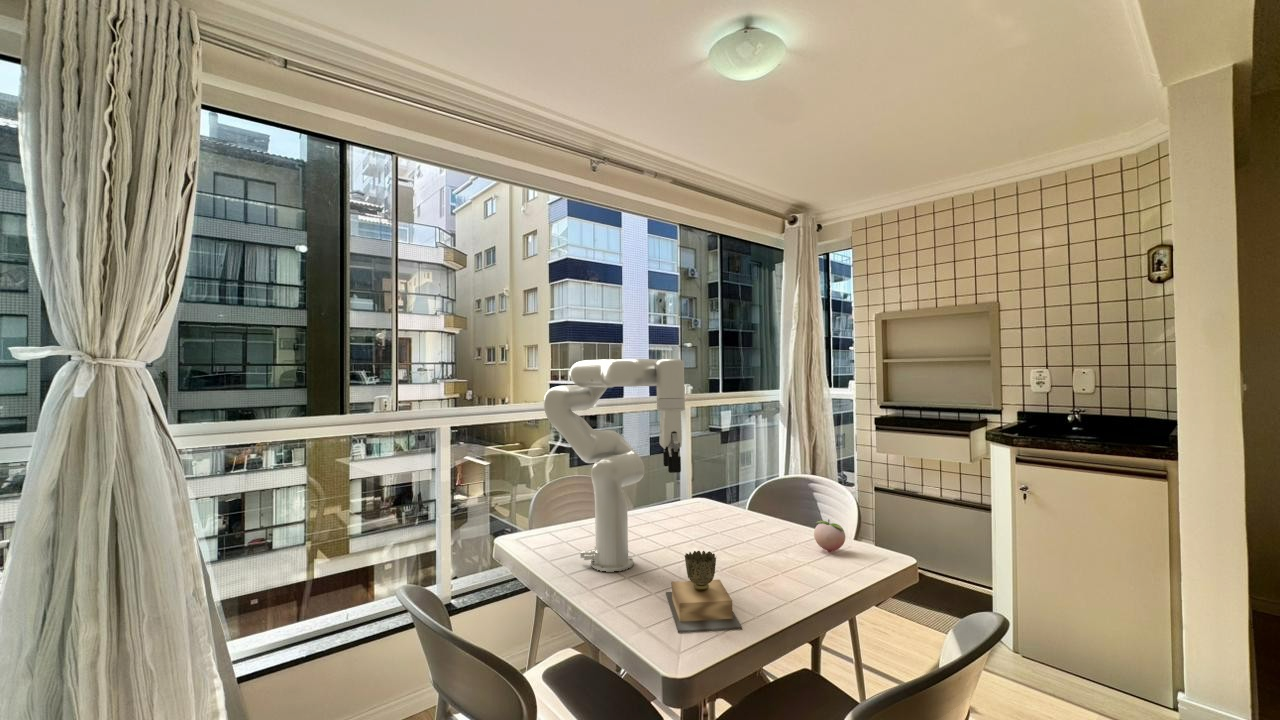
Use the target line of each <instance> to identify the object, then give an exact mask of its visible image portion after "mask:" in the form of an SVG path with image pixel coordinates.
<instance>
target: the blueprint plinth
mask: <svg viewBox="0 0 1280 720" xmlns="http://www.w3.org/2000/svg"><path fill="white" fill-rule="evenodd" d="M693 584H694V583H692V582H691V581H690V580H685V581H684V580H683V581H671V591H665V595H666V599H667V601H668V602H667V603H668V605H669V608H670V611H671V616H672V618H673V621H674V623H675V627H676V630H677V633H678V634H685V633H700V632H717V631H718V632H719V631H720V632H721V631H732V630H733V631H737V630H743V627H742V624H741V623H740V621H739V619H738V617H737V616H736V614H735V612H734V610H733V599H732V597H731V595H729V592H728V591H727V589H726V587H725V585H724V584H723V583H722V581H721V579H713V580H712V581H711V582H710V583H709V588H708V590H706V591H697V590H695V589H694V587H693Z"/></svg>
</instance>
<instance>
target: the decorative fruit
mask: <svg viewBox="0 0 1280 720" xmlns="http://www.w3.org/2000/svg"><path fill="white" fill-rule="evenodd" d="M815 525H816V526H815V528H814V530H813V536H814V540H815V542H816V543H817V545H818V546H819V547H820V548H821V549H824V550H825V551H827V552H829V553H831V552H836V551H838V550H840V549H841V548H842V546H844V544H845V542H846V533H845V530H844V529H843V527H842V526H841V525H840V524H839V523H838V524H837V523H830V519H828V521H826V520H819V521H817V522H815Z"/></svg>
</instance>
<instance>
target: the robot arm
mask: <svg viewBox="0 0 1280 720" xmlns="http://www.w3.org/2000/svg"><path fill="white" fill-rule="evenodd" d="M569 379H570V380H571V382H572V383H573V384H567V385H566V384H565V385H558V386H554V387H551V388H550V389H548V390H547V392H546V393H545V394H544V398H543V409H544V413H545V416H546V418H547V420H548V421H549V423H550V425H552V427H553V428H555V430H556V431H557V432H558V433H559V434H560V435H562V437H563V438H564V440H565V441H566V442H567V443H568V445H569V446H570V448H571V449H572V450H573V451H574V452H575V454H576V455H577V456H578V457H579V458H580V459H581V461H582V462H584V463H587V464H593V465H592V468H591V471H590V472H591V473H590V477H591V483H592V488H593V494H594V515H595V516H594V518H595V519H594V520H595V525H594V528H595V535H594V536H595V546H594V549H591V550H588V551H587V550H581V551H580V559H583V561H590V567H591V566H592V567H593V568H595V569H597V570H596V571H598V570H600V571H599V572H602V571H606V572H605V573H615V572H614V571H619V572H622V571H621V570H623V571H626V570H629V569H630V568H632V567H633V565H634V558H633V557H631V556H630V555H629V531H628V530H629V526H628V520H629V519H628V502H627V501H628V500H627V498H626V495H625V493H624V491H623V488H624V487H627V486H631V485H634V484H637V483H639V482H640V481H641V480H642V479H643V478H644V476H645V464H644V462H643V460H642V458H641V456H640V455H639V454H638V453H637V451H636V450H635V449H634V448H633V447H632V446H631V445H630V443H628V441H626V439H625V438H624V437H623V436H622V434H620V433H619V432H617V431H615V430H613V429H604V430H597V429H596V430H595V429H594V428H592V427H591V425H590V424H589V423H588V421H586V420H585V419H584V418H583V417H582V416H580V415H579V414H577V413H575V412H579V411H586V410H590V409H592V407H594V406H595V405H596V404H597V402H598V401H599V400H600V398H602V396H603V394H605V392H606V391H607V389H608V388H609V389H610V388H611V389H612V388H615V387H617V388H618V387H630V388H635V387H655V386H656V411H658V412H659V413H660V414H659V445H660V446H661V448H663V452H662V453H663V467H668V471H667V472H668V473H672V474H673V473H677V474H679V473H681V472H682V463H681V462H682V460H681V449H680V448H681V447H682V442H683V434H682V432H683V430H682V428H683V427H682V426H683V425H682V411H685V410H686V406H685V405H686V404H685V403H686V401H685V396H686V394H685V393H686V392H685V364H684V361H683V360H682V359H680V358H662V359H656V358H653V359H652V358H651V359H650V358H625V359H624V358H623V359H621V358H620V359H613V358H606V359H605V358H604V359H584V360H580V361H577V362H575V363H574V364H573V365H572V366H571V367H570V370H569ZM592 567H591V568H592ZM593 568H592V569H593ZM628 568H629V569H628ZM595 569H594V570H595ZM625 569H626V570H625Z"/></svg>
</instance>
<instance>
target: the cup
mask: <svg viewBox="0 0 1280 720" xmlns="http://www.w3.org/2000/svg"><path fill="white" fill-rule="evenodd" d="M684 560H685V568H686V569H685V570H686V574H687V577H688V579H689V580H688V581H691V582H692V583H694V584H693V587H694V589H695V590H697V591H706V590H708V588H709V583H710V582H711V581H712V580H714V577H715V574H716V565H717V564H716V562H717V556H716V554H715V553H712V552H711V551H709V550H708V551H707V552H706V551H705V550H703V551H702V552H701V551H700V550H693V552H691V551H689V553H687V552H685V555H684Z"/></svg>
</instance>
